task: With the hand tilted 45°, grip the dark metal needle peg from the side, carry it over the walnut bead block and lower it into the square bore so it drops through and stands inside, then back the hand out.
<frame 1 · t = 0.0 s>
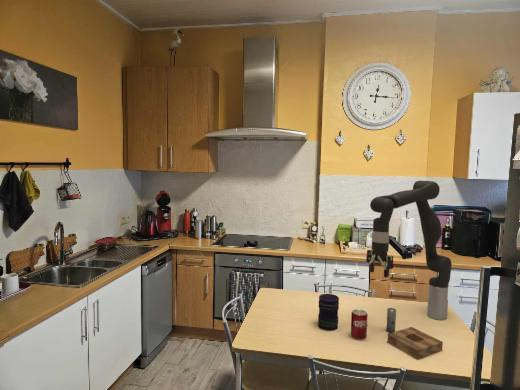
hand: (378, 274, 168), 29 cm above the table, tool pointing down, fingers open, 8 cm apart
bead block: (414, 346, 160), on the table
storage jar: (327, 326, 179), on the table
soda can: (358, 337, 168), on the table
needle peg: (390, 331, 174), on the table
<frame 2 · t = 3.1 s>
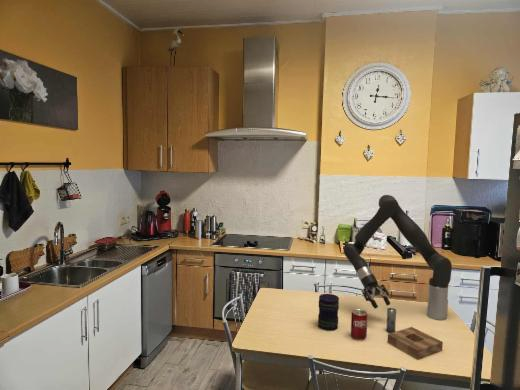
hand: (382, 306, 178), 10 cm above the table, tool tilted 45°, fingers open, 8 cm apart
nothing on the table moved.
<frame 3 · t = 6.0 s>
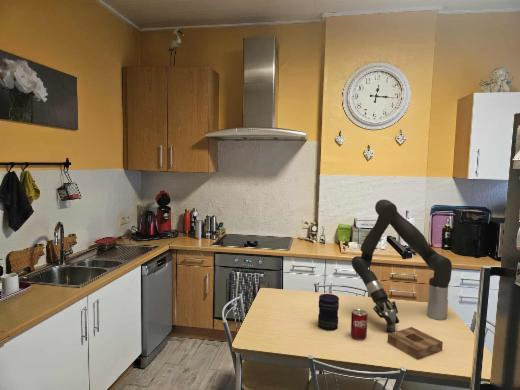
hand: (394, 323, 172), 5 cm above the table, tool tilted 45°, fingers closed on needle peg, 4 cm apart
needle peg: (390, 331, 174), on the table, touching gripper
everything else where it was.
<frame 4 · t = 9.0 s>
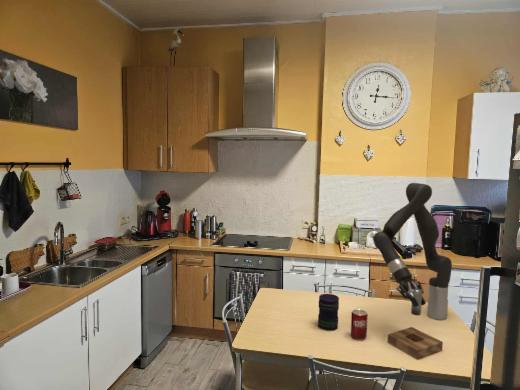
hand: (420, 305, 157), 20 cm above the table, tool tilted 45°, fingers closed on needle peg, 4 cm apart
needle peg: (415, 313, 159), point 15 cm above the table, touching gripper
everything else where it was.
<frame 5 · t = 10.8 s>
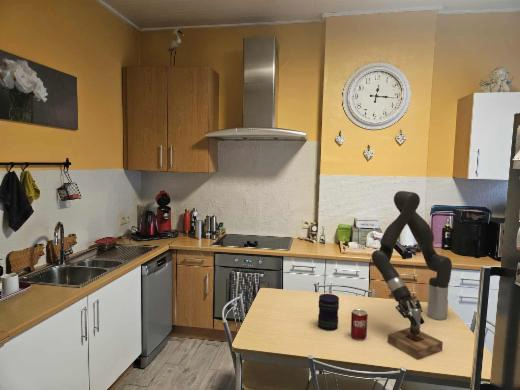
hand: (419, 324, 158), 11 cm above the table, tool tilted 45°, fingers closed on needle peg, 4 cm apart
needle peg: (414, 332, 160), point 6 cm above the table, touching gripper
everything else where it was.
when the fingers open (8 cm above the table, at t = 12.4 s): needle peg drops 3 cm, resting in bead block.
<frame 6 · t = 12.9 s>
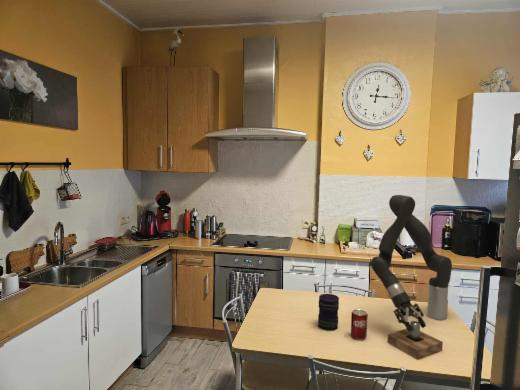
hand: (417, 329, 158), 9 cm above the table, tool tilted 45°, fingers open, 8 cm apart
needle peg: (414, 346, 160), resting in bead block
everything else where it was.
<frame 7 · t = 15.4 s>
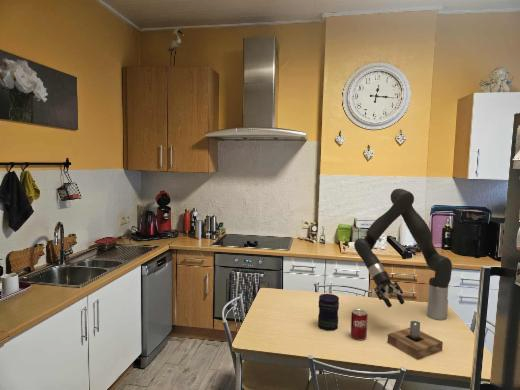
hand: (396, 305, 168), 15 cm above the table, tool tilted 45°, fingers open, 8 cm apart
nothing on the table moved.
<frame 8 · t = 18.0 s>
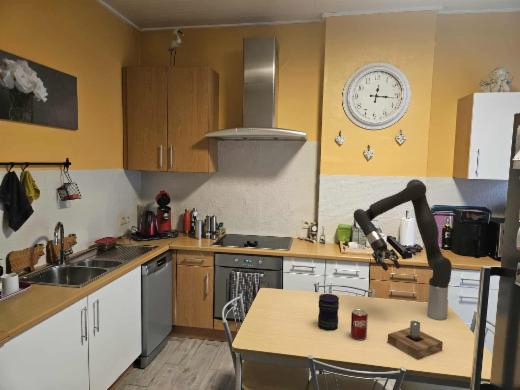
hand: (392, 269, 180), 29 cm above the table, tool tilted 45°, fingers open, 8 cm apart
nothing on the table moved.
at the end: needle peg 0.1 cm off-centre on the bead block, point 0.0 cm above the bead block's base; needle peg tilted 0°; the gripper is holding nothing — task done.
